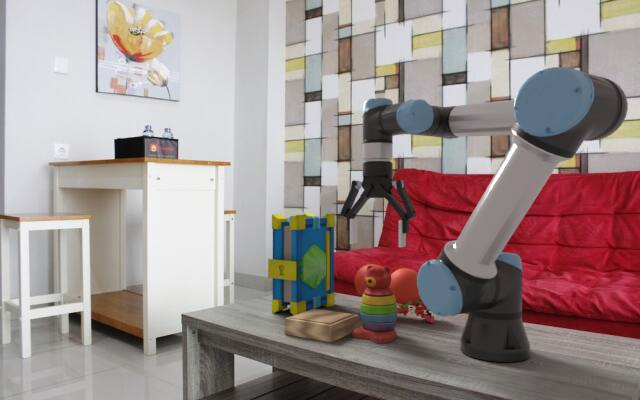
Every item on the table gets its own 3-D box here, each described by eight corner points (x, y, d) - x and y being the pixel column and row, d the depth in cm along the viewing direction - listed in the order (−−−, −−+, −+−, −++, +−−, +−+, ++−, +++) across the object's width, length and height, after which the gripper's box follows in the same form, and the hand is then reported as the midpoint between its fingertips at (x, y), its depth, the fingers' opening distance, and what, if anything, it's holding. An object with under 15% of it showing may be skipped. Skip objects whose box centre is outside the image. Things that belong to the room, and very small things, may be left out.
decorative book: (263, 313, 155) (263, 214, 155) (308, 300, 174) (308, 212, 174) (301, 319, 147) (301, 215, 147) (344, 305, 166) (344, 213, 166)
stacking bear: (348, 336, 129) (348, 266, 129) (372, 329, 137) (372, 262, 137) (383, 344, 122) (383, 270, 122) (407, 336, 129) (407, 265, 129)
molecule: (348, 318, 149) (348, 265, 149) (362, 310, 159) (362, 261, 159) (432, 328, 138) (433, 271, 138) (443, 319, 147) (443, 266, 147)
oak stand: (358, 329, 136) (358, 313, 136) (331, 342, 124) (331, 324, 124) (314, 322, 143) (314, 307, 143) (284, 334, 131) (284, 317, 131)
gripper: (430, 160, 126) (429, 246, 126) (342, 163, 139) (341, 241, 139) (418, 158, 119) (418, 249, 119) (327, 161, 133) (327, 243, 133)
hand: (377, 245), depth 129 cm, fingers open, 13 cm apart
